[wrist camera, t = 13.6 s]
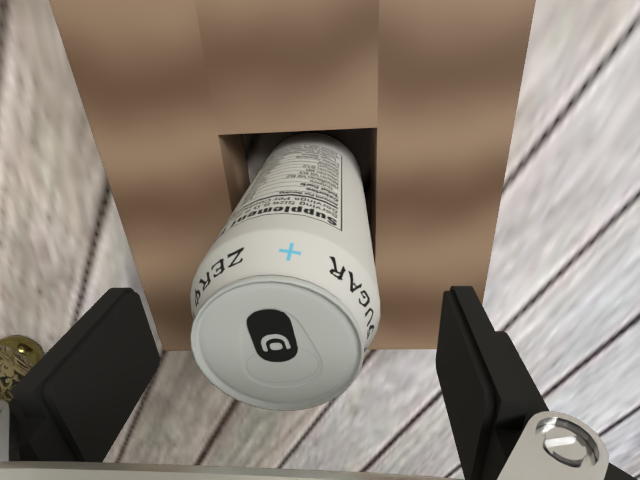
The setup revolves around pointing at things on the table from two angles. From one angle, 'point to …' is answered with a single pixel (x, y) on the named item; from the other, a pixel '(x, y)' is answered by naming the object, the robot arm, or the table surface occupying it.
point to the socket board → (304, 129)
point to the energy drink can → (290, 282)
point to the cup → (16, 362)
